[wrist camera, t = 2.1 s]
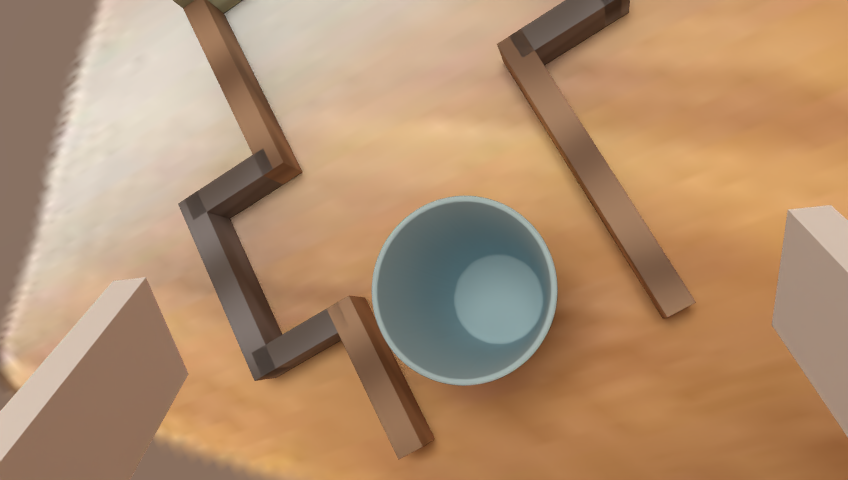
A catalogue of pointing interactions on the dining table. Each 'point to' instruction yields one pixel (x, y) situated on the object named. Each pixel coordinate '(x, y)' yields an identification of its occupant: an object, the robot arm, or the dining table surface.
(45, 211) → the dining table surface
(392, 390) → the wooden zigzag frame
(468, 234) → the cup
